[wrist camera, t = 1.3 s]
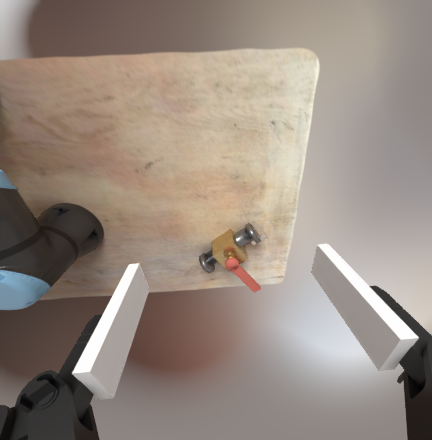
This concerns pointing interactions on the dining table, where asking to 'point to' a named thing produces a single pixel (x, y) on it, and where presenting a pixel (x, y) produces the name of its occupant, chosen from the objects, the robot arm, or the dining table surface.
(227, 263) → the lever
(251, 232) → the valve
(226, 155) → the dining table surface
